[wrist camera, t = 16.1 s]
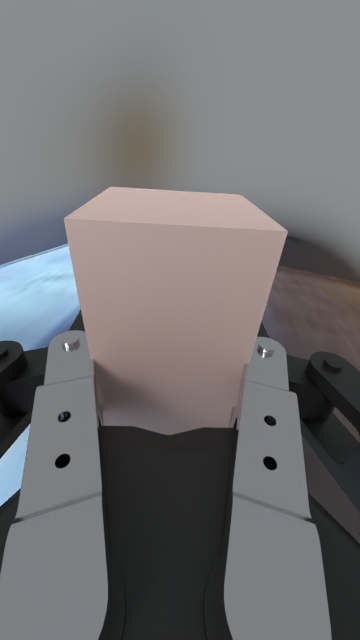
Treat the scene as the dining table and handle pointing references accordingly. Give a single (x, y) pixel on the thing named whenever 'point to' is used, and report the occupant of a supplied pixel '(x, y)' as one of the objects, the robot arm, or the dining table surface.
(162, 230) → the pillar block
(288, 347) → the dining table surface
